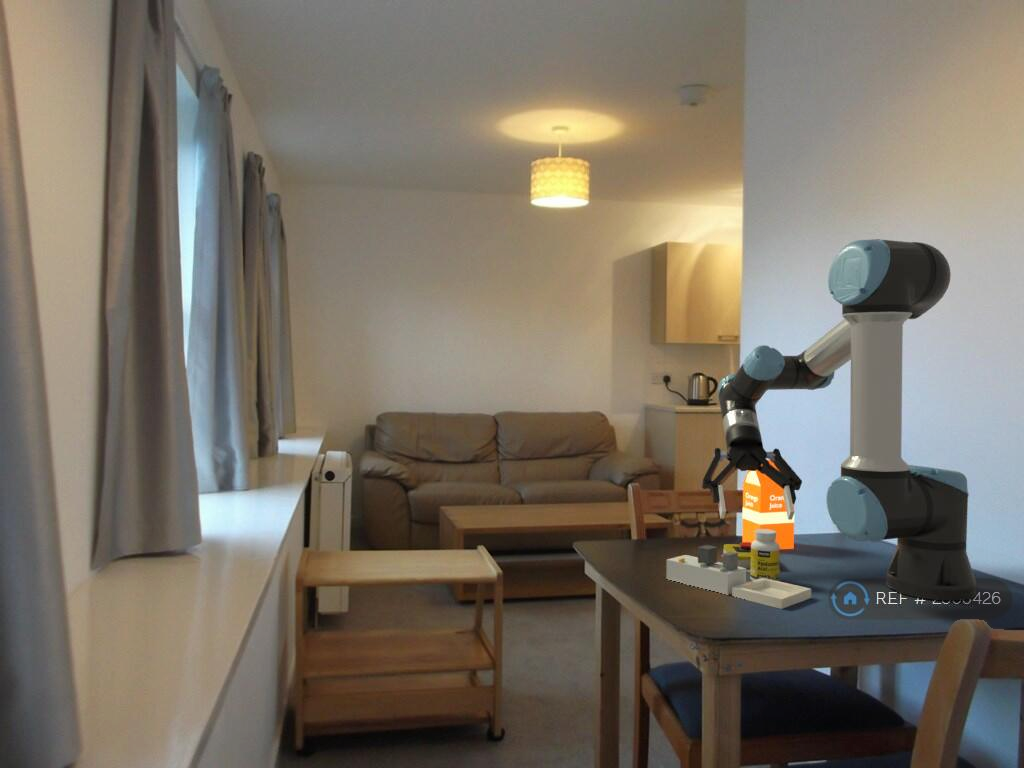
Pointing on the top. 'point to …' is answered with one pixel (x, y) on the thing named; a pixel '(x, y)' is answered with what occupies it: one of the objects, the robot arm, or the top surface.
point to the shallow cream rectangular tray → (771, 593)
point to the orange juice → (765, 509)
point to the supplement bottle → (765, 555)
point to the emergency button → (741, 553)
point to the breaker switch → (707, 554)
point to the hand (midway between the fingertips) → (757, 515)
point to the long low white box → (707, 573)
